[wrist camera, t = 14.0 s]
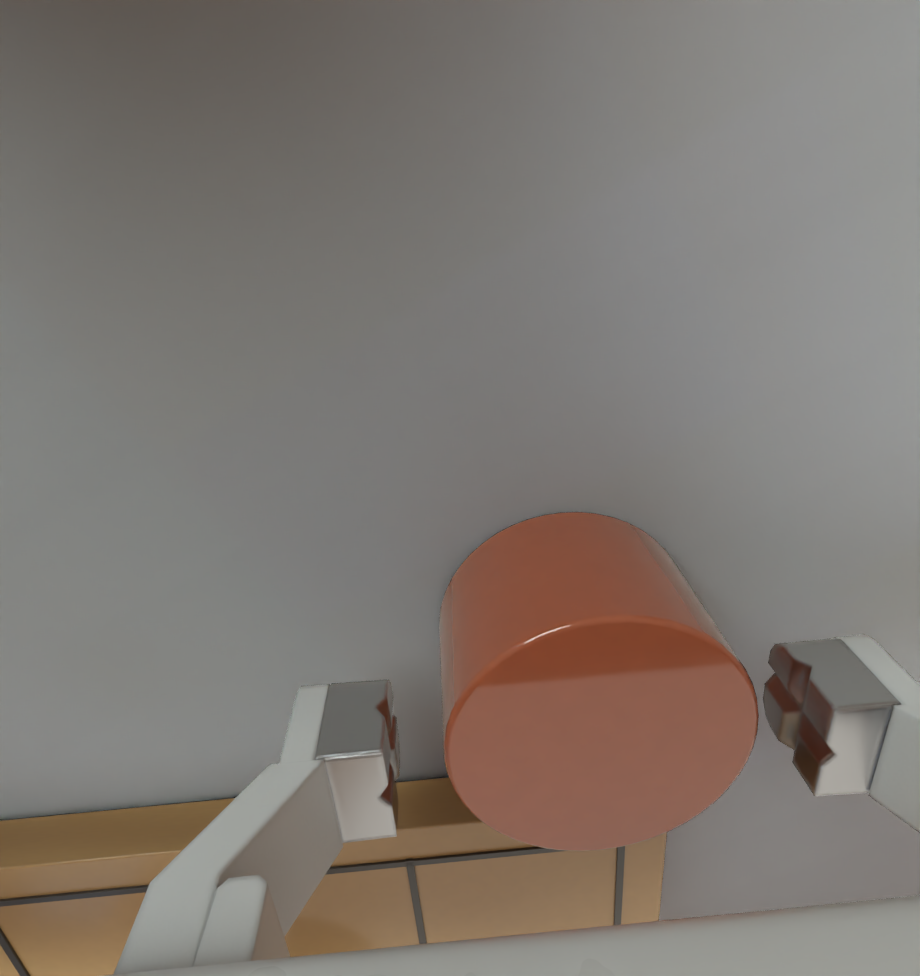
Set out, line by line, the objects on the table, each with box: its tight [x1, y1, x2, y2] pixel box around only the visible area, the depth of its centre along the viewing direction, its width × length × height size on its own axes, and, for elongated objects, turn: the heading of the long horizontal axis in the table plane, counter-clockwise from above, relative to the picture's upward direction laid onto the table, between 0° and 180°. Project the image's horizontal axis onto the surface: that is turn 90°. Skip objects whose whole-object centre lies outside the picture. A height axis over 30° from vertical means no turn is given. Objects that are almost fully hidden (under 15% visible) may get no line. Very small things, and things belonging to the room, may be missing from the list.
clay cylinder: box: [439, 512, 758, 851], centre depth 11 cm, size 5×5×3 cm
